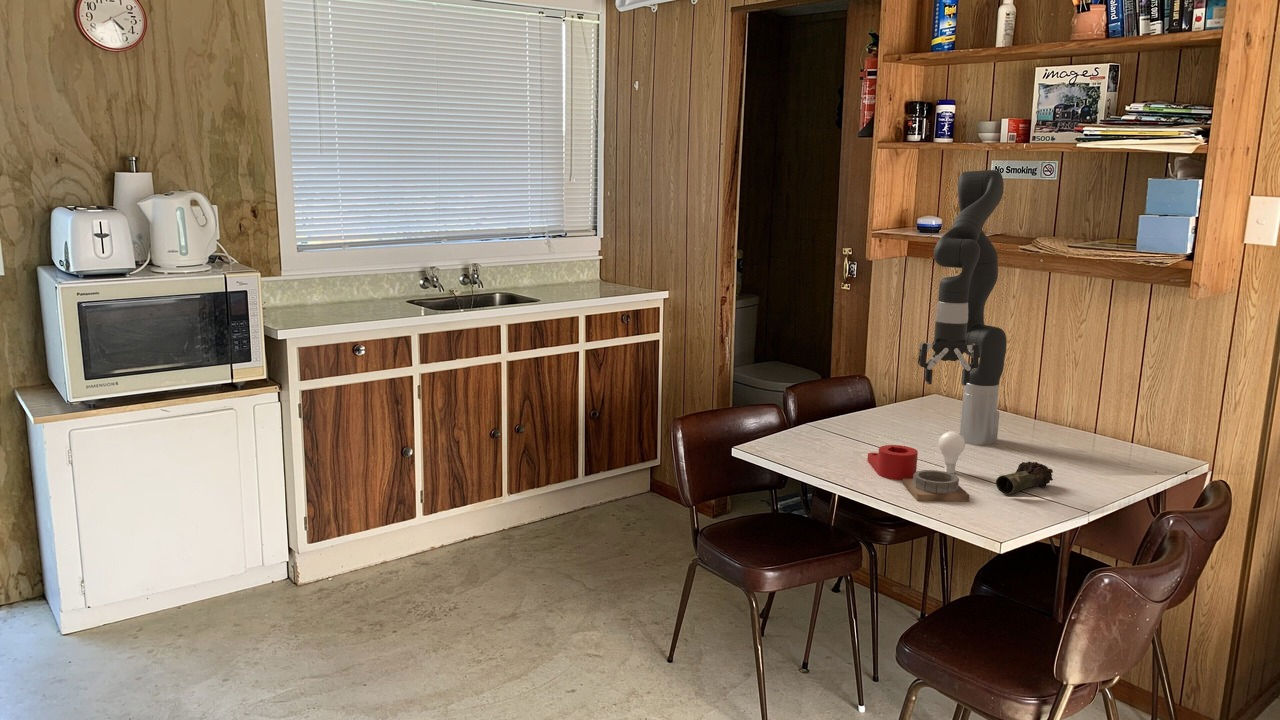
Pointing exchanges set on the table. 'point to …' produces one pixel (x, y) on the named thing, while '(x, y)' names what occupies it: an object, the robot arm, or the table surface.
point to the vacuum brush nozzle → (1024, 478)
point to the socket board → (933, 495)
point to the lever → (894, 462)
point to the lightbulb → (951, 449)
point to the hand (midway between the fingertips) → (946, 384)
